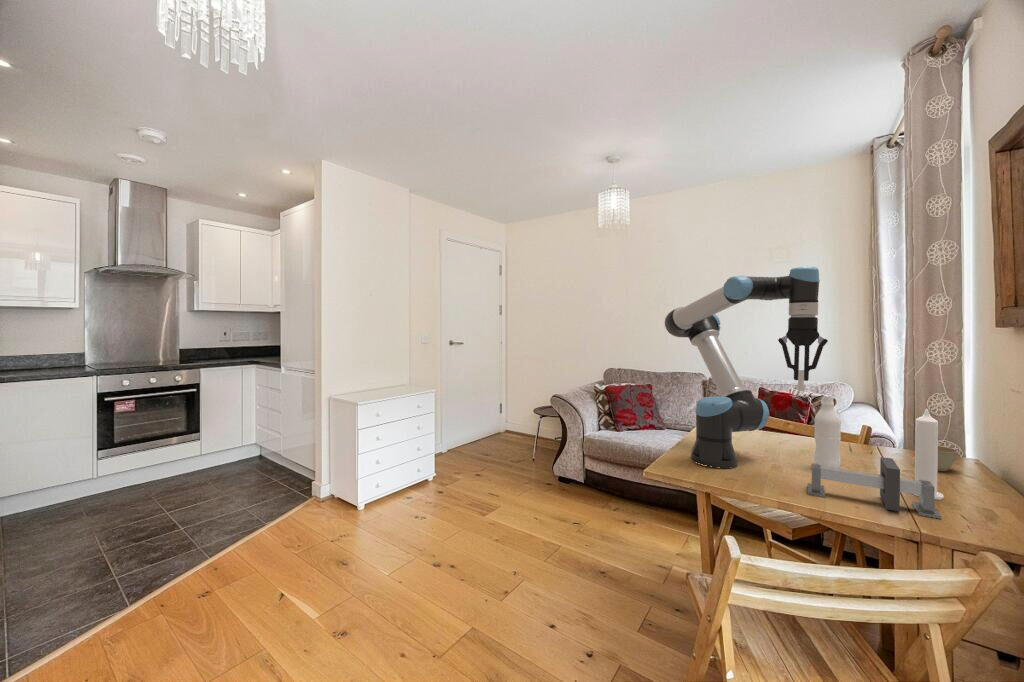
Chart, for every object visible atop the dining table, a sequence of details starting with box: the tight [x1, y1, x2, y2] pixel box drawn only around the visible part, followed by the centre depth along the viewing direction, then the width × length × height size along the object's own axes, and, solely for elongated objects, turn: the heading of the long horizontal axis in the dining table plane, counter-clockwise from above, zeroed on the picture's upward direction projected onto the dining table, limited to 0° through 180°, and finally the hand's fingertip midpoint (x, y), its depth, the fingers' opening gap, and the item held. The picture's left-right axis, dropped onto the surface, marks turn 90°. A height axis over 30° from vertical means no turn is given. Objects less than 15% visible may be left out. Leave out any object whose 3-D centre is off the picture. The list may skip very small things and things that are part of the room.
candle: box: [912, 408, 945, 501], centre depth 114 cm, size 7×7×25 cm
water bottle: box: [813, 396, 842, 469], centre depth 135 cm, size 7×7×25 cm
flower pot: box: [937, 445, 959, 472], centre depth 136 cm, size 10×10×7 cm
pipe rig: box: [806, 463, 942, 520], centre depth 111 cm, size 27×8×8 cm, turn 54°
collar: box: [879, 456, 901, 512], centre depth 108 cm, size 2×11×11 cm, turn 143°
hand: (800, 390), depth 126 cm, fingers closed
